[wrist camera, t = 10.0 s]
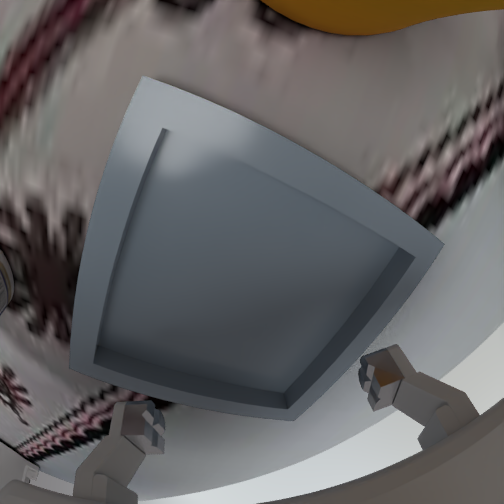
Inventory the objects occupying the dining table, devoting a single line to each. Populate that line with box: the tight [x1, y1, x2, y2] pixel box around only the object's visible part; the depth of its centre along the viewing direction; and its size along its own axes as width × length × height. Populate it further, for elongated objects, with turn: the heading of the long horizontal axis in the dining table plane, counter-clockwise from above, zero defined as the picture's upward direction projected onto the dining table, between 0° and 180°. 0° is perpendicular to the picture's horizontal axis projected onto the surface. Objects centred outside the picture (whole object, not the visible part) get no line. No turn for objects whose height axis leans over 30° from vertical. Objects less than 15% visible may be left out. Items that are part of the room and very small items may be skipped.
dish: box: [69, 76, 444, 421], centre depth 14 cm, size 16×16×2 cm
